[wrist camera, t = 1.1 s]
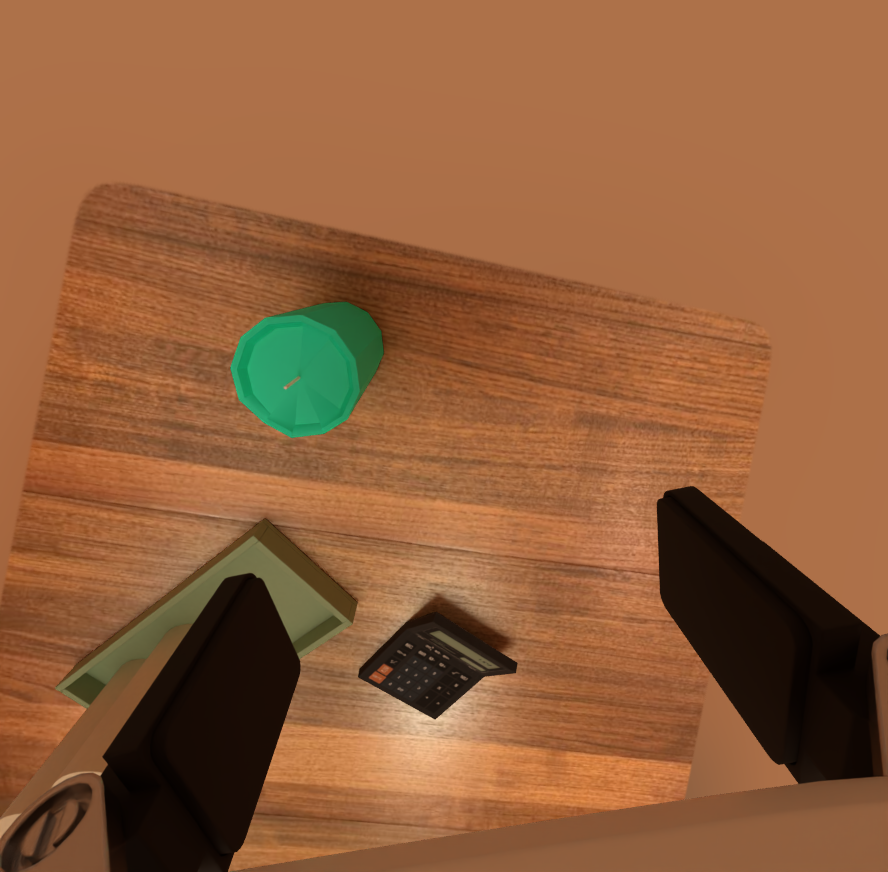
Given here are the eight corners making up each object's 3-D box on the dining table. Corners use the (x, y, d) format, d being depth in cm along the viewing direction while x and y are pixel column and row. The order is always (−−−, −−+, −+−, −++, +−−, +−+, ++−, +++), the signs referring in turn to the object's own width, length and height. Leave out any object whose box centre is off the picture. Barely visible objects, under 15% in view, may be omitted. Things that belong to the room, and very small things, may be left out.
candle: (283, 317, 29) (187, 344, 18) (364, 288, 28) (319, 296, 17) (320, 397, 31) (255, 467, 20) (396, 371, 30) (374, 427, 19)
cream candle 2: (148, 645, 38) (30, 798, 27) (192, 612, 37) (87, 758, 26) (200, 682, 40) (109, 840, 29) (243, 652, 39) (166, 805, 28)
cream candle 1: (103, 678, 40) (-27, 838, 28) (144, 648, 38) (25, 801, 27) (155, 713, 41) (52, 876, 30) (196, 685, 40) (105, 843, 29)
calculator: (359, 669, 41) (354, 698, 38) (436, 593, 38) (436, 618, 35) (435, 711, 43) (435, 741, 40) (513, 642, 40) (519, 670, 37)
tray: (76, 664, 40) (54, 688, 37) (265, 518, 35) (252, 535, 32) (172, 727, 43) (157, 753, 41) (357, 602, 38) (352, 624, 35)
